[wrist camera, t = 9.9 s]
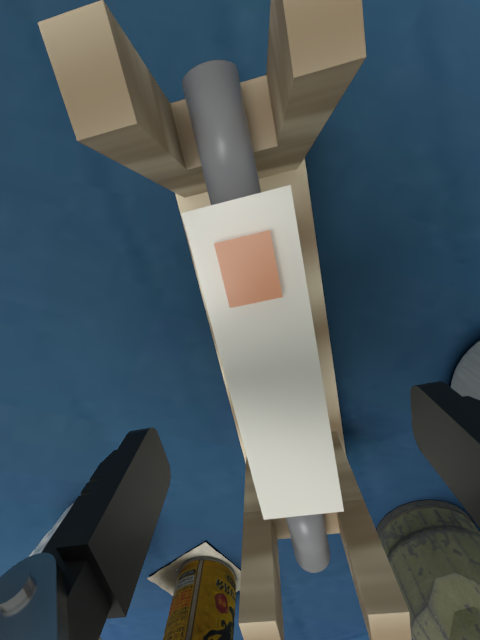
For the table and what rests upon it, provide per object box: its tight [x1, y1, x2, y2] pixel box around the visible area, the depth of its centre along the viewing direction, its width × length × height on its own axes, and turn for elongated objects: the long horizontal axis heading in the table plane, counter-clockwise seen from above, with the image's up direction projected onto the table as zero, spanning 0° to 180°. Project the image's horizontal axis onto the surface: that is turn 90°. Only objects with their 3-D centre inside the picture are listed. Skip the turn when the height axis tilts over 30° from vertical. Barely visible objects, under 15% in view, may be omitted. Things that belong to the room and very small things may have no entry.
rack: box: [38, 0, 411, 640], centre depth 15 cm, size 26×8×12 cm, turn 12°
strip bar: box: [181, 60, 344, 573], centre depth 14 cm, size 23×4×6 cm, turn 13°
